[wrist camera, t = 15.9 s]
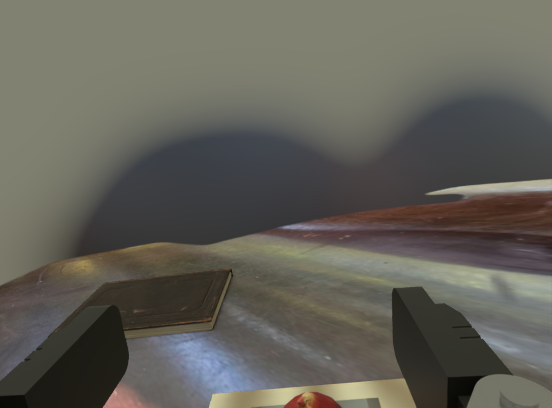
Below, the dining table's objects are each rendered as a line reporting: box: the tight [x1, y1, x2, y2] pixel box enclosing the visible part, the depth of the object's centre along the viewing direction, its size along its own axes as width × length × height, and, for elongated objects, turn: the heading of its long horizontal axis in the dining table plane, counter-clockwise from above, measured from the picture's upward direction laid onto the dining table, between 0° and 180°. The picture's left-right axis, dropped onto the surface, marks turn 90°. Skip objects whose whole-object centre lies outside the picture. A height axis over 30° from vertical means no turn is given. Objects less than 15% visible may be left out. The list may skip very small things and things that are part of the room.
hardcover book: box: [48, 268, 233, 338], centre depth 56 cm, size 16×23×2 cm
